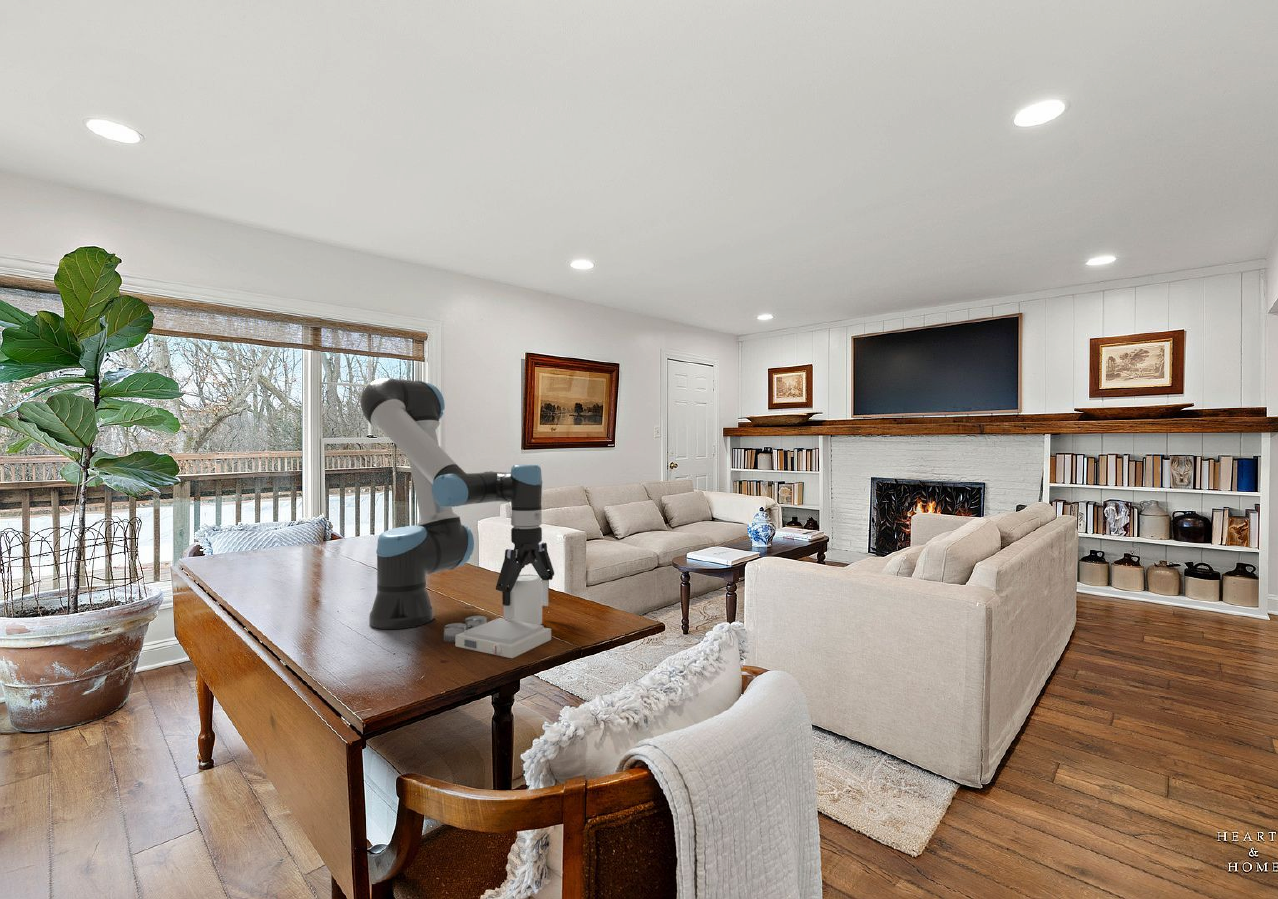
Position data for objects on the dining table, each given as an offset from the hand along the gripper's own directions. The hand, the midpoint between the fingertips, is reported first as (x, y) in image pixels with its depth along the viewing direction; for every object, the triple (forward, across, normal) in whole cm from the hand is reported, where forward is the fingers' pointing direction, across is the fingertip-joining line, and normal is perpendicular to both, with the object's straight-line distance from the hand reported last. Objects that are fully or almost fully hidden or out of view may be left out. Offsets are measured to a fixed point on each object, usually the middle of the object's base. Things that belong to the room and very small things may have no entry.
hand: (526, 612), depth 152 cm
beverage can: (+4, 0, 0) cm, 4 cm away
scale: (+4, -13, -4) cm, 14 cm away
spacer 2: (+4, -9, +8) cm, 13 cm away
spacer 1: (+4, -16, +8) cm, 18 cm away
